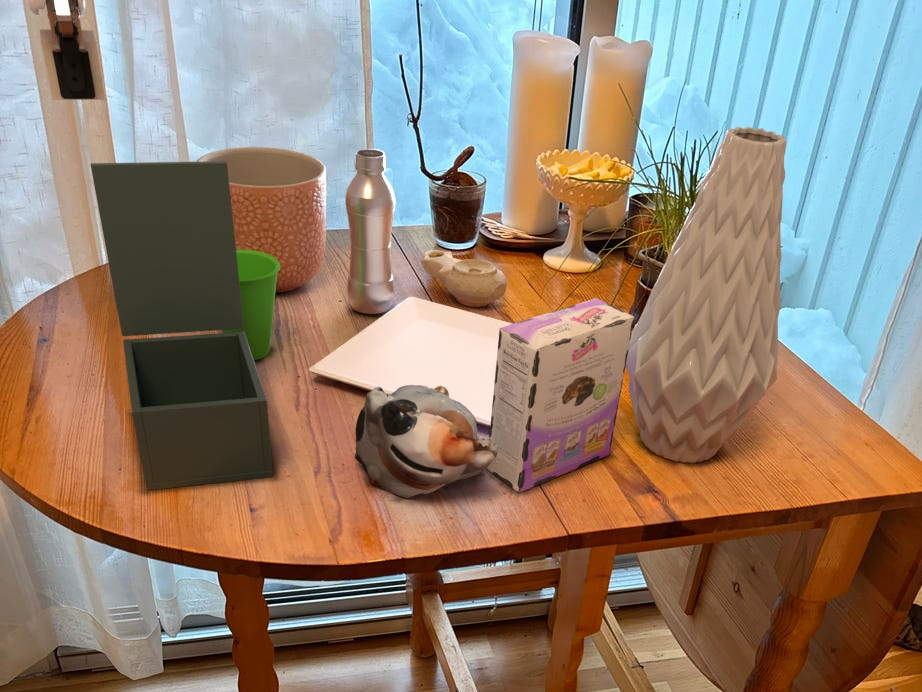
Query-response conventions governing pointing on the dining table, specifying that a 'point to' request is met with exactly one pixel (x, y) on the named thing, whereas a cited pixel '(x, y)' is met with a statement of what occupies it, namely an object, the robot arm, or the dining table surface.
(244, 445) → the chest
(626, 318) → the candy box
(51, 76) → the block
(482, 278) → the oil lamp
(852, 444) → the dining table surface
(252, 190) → the planter
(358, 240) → the silver metal bottle
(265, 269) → the cup
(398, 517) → the dining table surface
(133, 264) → the lid
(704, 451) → the vase
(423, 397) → the lucky cat figurine
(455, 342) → the plate
